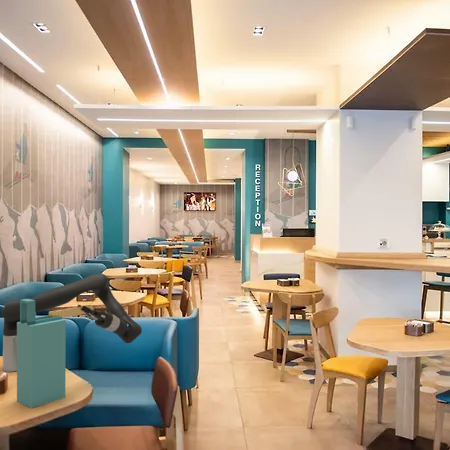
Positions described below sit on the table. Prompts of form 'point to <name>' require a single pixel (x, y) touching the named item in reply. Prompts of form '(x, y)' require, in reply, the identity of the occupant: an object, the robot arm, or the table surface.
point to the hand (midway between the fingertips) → (80, 307)
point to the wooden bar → (68, 312)
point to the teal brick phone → (40, 357)
